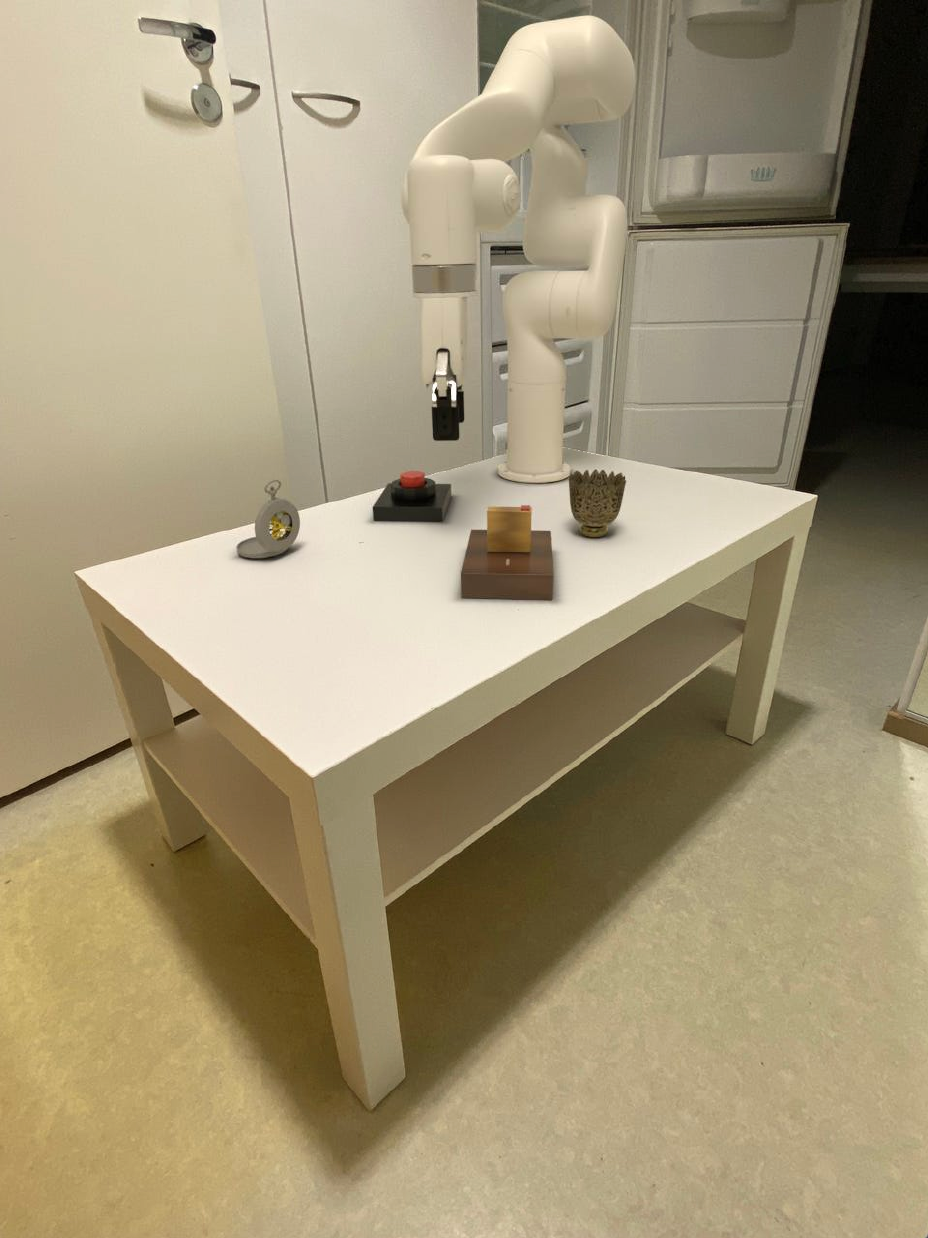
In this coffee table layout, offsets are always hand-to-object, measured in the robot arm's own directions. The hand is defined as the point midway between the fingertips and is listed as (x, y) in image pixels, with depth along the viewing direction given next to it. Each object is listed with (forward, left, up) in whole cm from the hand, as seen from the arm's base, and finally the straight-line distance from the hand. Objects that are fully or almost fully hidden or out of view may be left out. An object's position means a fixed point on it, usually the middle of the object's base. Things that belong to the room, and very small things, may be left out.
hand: (449, 430), depth 90 cm
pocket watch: (+9, -23, -14) cm, 28 cm away
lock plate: (+14, +8, -14) cm, 21 cm away
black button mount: (-10, -7, -14) cm, 19 cm away
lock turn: (+14, +8, -11) cm, 19 cm away
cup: (0, +19, -14) cm, 24 cm away
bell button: (-10, -7, -10) cm, 16 cm away
